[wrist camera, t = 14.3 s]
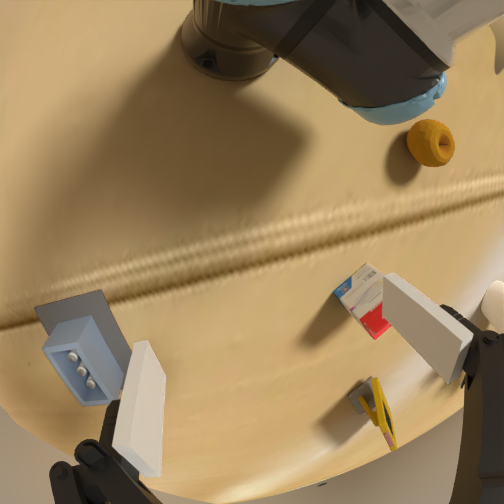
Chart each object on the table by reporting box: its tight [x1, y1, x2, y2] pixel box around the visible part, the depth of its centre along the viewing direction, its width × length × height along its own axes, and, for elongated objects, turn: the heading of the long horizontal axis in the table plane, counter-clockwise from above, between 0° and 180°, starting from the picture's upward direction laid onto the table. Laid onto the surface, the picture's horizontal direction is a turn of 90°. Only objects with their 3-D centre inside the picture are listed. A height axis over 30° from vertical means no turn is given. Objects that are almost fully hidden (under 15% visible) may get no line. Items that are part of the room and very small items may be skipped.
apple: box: [406, 119, 455, 167], centre depth 40 cm, size 8×8×9 cm
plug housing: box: [42, 315, 124, 406], centre depth 42 cm, size 14×8×8 cm, turn 12°
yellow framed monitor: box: [348, 377, 397, 451], centre depth 57 cm, size 20×8×16 cm, turn 30°
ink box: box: [333, 263, 392, 340], centre depth 44 cm, size 8×5×15 cm, turn 128°
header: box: [34, 290, 132, 390], centre depth 43 cm, size 22×16×7 cm
